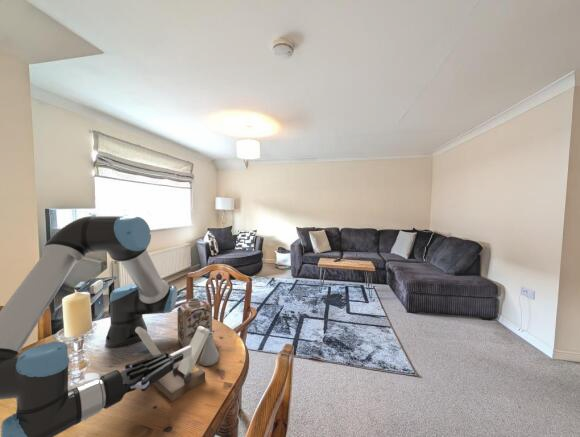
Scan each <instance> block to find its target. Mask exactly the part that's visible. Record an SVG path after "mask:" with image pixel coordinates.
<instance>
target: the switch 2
mask: <svg viewBox="0 0 580 437" xmlns="http://www.w3.org/2000/svg"><path fill="white" fill-rule="evenodd" d="M209 333H210V331H209V329H207V328H205V327H202V326H199V327H198V328H197V330H196V332H195V334H194V336H193V338H192V340H191V343H190V346H191V347H192V355H190V356H188V357H187V358H185V359H183V360H182V361H181V363H180V365H179V367H178V370H179V371H181V372H182V373H183V374H185V375H186V374H188V373H191V372H192V370H193V368H194V365H196V362H197V360H198V358H199V356H200V354H201V352H202V351H203V349H204V346H205V344H204V343H205V341H206V339H207V337H208V335H209Z"/></svg>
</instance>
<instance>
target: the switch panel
mask: <svg viewBox="0 0 580 437" xmlns="http://www.w3.org/2000/svg"><path fill="white" fill-rule="evenodd" d="M165 352H169V354H172V353H174V352H176V351H175V350H173V349H172V348H170V347H167V348H165V349H164V350H161V351H160V353H161V354H162V353H163V354H164V355H165ZM150 357H153V356H152V355H151V356H149V357H148V358H150ZM181 361H182V360H181ZM181 361H179V362H177V363H175V364H173V370H172V371H171V372H169V373H168V374H166V375H165V376H163V377H162V378H160V379H159V380H158V381H156V382H155V383H153V384H152V385H154V386H155V388H157V389H158V390H159V391H160V393H162V394H163V395H164V396H166V397H167V399H168V400H170V401H171V402H173V401H175V400H176V399H178V398H180V397H182V396H183V395H184V394H186V393H187V392H189V391H191V389H193V388H194V387H196V386H197V385H199V384H201V383H202V382H204V381H205V380H206V371H205V370H203V369H202V368H200V367H199V366H197V365H196V364H195V365H194V368H193V370H192V372H191V373H188V374H186V375H185V374H183V373H182V372H181V371H179V370H178V367H179V365H180V363H181Z"/></svg>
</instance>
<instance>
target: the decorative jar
mask: <svg viewBox="0 0 580 437" xmlns="http://www.w3.org/2000/svg"><path fill="white" fill-rule="evenodd" d="M212 311H213V310H212V307H211V305H210V302H208V301H207V300H203V299H200V298H198V297H195V298H190V299H188V301H186V302H184V303H182V304H181V305H180V306H179V307H178V308H177V340H178V341H179V343H180V345H181V347H182V348H184V347H187V346H189V345H190V343H191V340H192V338H193V336H194V334H195V332H196V330H197V328H198V327H199V326H202V327H205V328H207V329H209V331H210V332H213V312H212ZM204 345H205V343H204Z"/></svg>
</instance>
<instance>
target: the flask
mask: <svg viewBox="0 0 580 437" xmlns="http://www.w3.org/2000/svg"><path fill="white" fill-rule="evenodd" d="M201 352H202V353H201V355H200V358H199V361H198V364H199V365H201V366H203V367H206V366H207V367H208V366H214V365H215V364H216V363H218V361H219V359H220V357H221V356H220V354H219V351H218V349H217V346H216V344H215V341H214V331H212V332H210V333H209V335H208V337H207V339H206V341H205V344H204V346H203V348H202V351H201Z"/></svg>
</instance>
